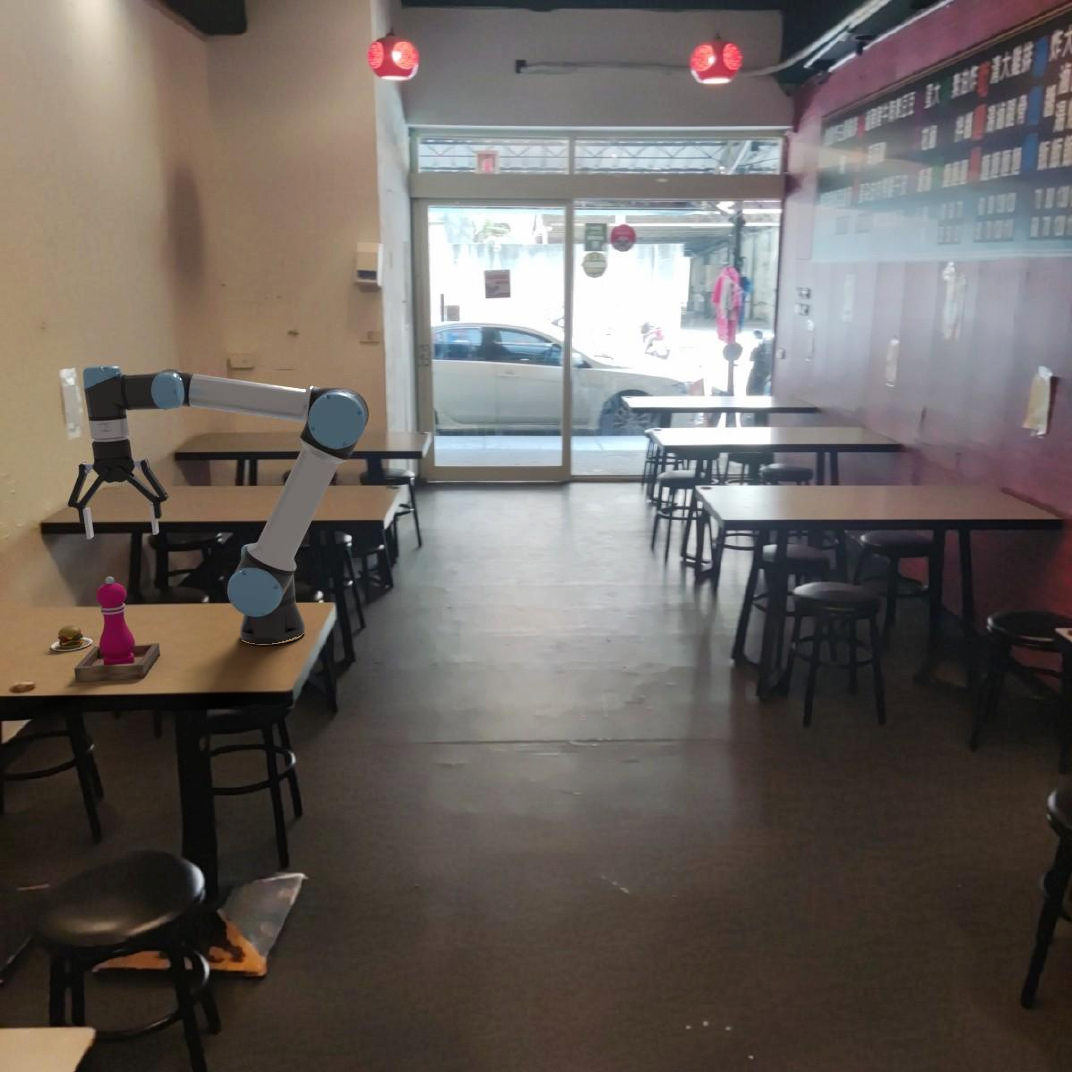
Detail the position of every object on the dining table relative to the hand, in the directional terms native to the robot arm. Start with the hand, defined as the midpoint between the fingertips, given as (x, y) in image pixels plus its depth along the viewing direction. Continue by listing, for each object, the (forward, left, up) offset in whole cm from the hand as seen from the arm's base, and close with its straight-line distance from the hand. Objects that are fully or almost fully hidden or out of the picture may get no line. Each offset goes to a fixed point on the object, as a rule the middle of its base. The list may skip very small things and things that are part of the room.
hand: (123, 535), depth 209 cm
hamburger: (+18, -13, -30) cm, 37 cm away
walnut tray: (+3, +5, -29) cm, 29 cm away
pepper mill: (+2, +4, -28) cm, 29 cm away
